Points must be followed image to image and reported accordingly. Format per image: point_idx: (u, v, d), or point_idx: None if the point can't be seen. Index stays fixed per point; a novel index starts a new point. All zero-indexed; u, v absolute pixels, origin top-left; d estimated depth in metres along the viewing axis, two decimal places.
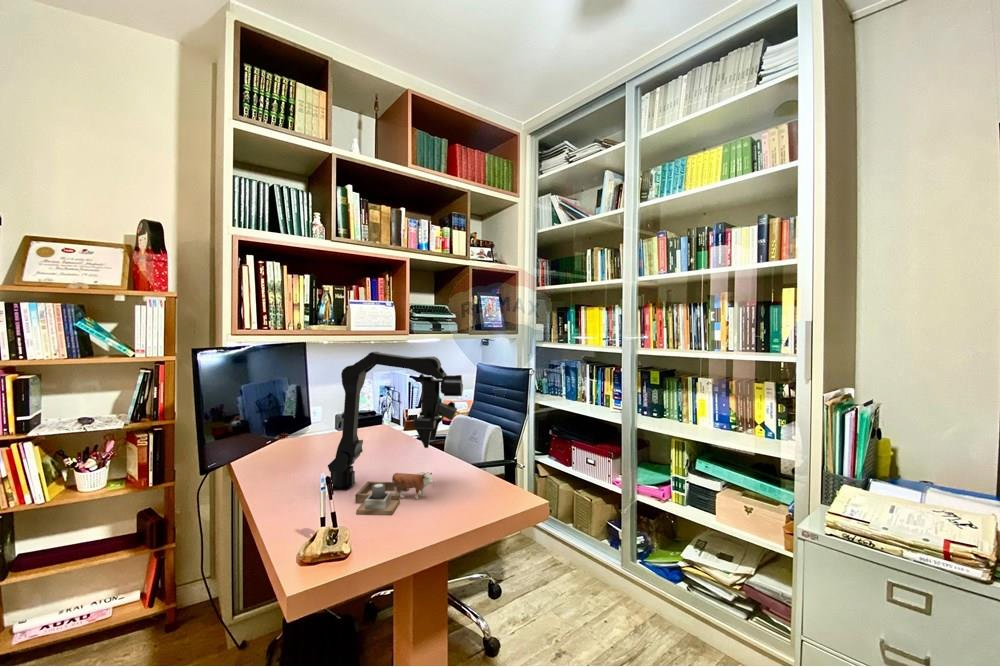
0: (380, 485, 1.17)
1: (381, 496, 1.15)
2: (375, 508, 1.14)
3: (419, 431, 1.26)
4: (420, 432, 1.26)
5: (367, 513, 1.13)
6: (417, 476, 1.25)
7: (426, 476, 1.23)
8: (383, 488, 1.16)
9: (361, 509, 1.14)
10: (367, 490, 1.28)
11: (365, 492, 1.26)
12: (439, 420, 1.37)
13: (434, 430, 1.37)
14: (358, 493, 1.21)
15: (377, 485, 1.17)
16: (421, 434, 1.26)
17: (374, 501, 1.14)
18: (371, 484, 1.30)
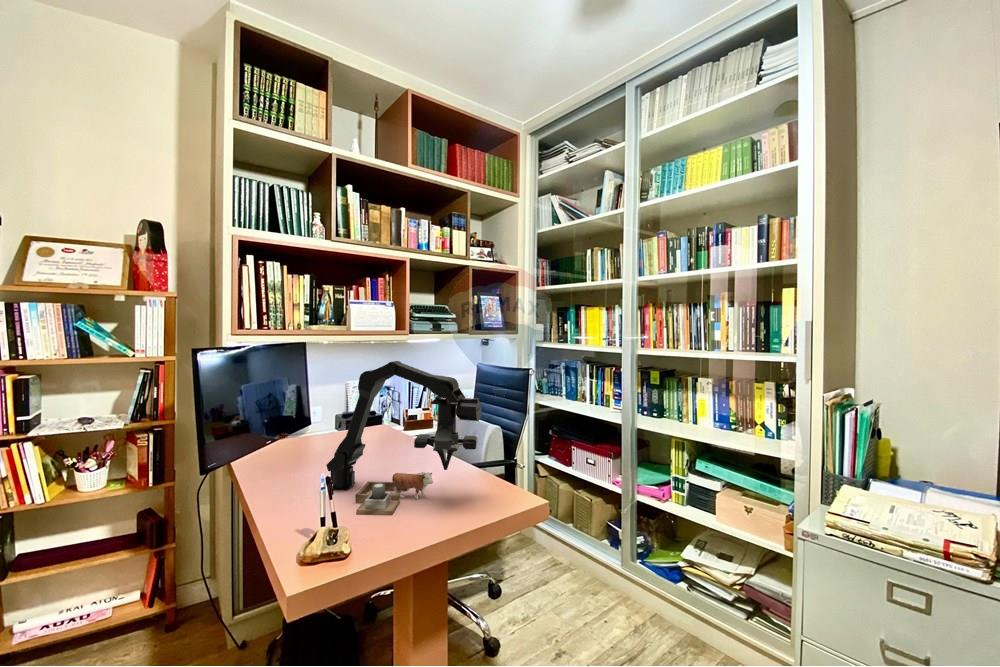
0: (380, 485, 1.17)
1: (381, 496, 1.15)
2: (375, 508, 1.14)
3: None
4: None
5: (367, 513, 1.13)
6: (417, 476, 1.24)
7: (426, 476, 1.23)
8: (383, 488, 1.16)
9: (361, 509, 1.14)
10: (367, 490, 1.28)
11: (365, 492, 1.26)
12: (447, 450, 1.23)
13: None
14: (358, 493, 1.21)
15: (377, 485, 1.17)
16: None
17: (374, 501, 1.14)
18: (371, 484, 1.30)
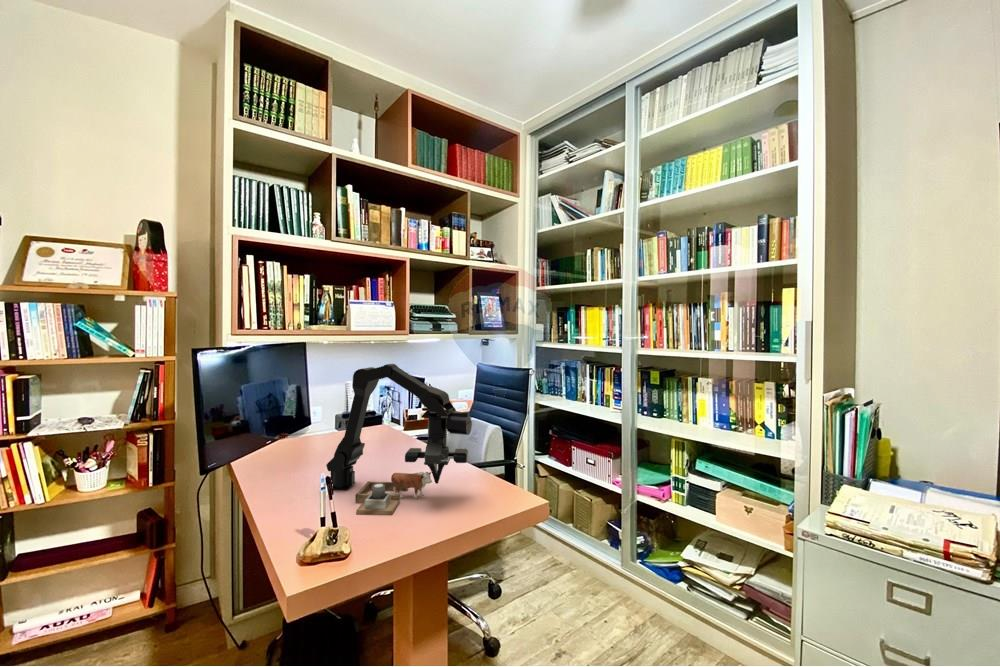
0: (380, 485, 1.17)
1: (381, 496, 1.15)
2: (375, 508, 1.14)
3: None
4: None
5: (367, 513, 1.13)
6: (416, 475, 1.25)
7: (425, 476, 1.23)
8: (383, 488, 1.16)
9: (361, 509, 1.14)
10: (367, 490, 1.28)
11: (365, 492, 1.26)
12: (438, 464, 1.23)
13: (437, 473, 1.25)
14: (358, 493, 1.21)
15: (377, 485, 1.17)
16: None
17: (374, 501, 1.14)
18: (371, 484, 1.30)
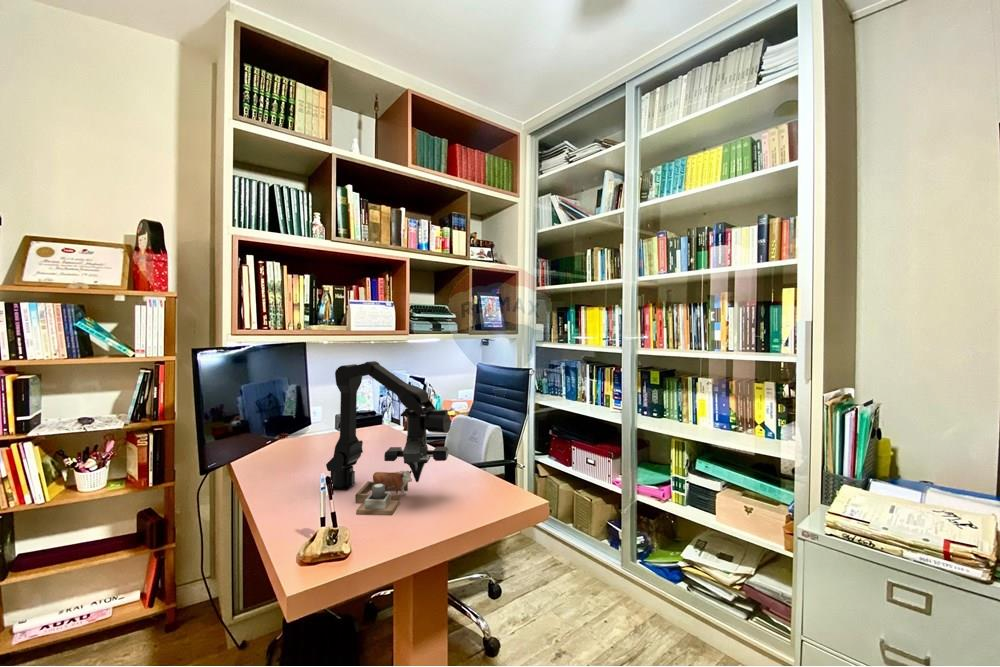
0: (380, 485, 1.17)
1: (381, 496, 1.15)
2: (375, 508, 1.14)
3: None
4: None
5: (367, 513, 1.13)
6: (396, 474, 1.25)
7: (405, 474, 1.23)
8: (383, 488, 1.16)
9: (361, 509, 1.14)
10: (367, 490, 1.28)
11: (365, 492, 1.26)
12: None
13: None
14: (358, 493, 1.21)
15: (377, 485, 1.17)
16: None
17: (374, 501, 1.14)
18: (371, 484, 1.30)
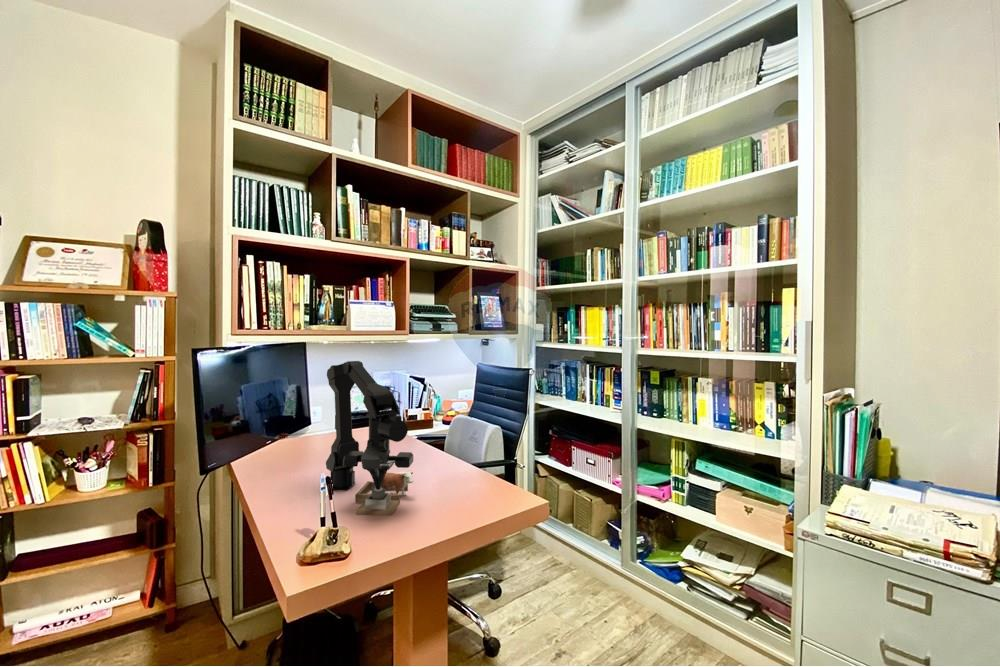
0: (380, 489, 1.17)
1: None
2: (375, 508, 1.14)
3: None
4: None
5: (367, 513, 1.13)
6: (397, 475, 1.25)
7: (406, 475, 1.24)
8: (383, 492, 1.16)
9: (361, 509, 1.14)
10: (367, 490, 1.28)
11: (365, 492, 1.26)
12: None
13: None
14: (358, 493, 1.21)
15: None
16: None
17: (374, 501, 1.14)
18: (371, 484, 1.30)
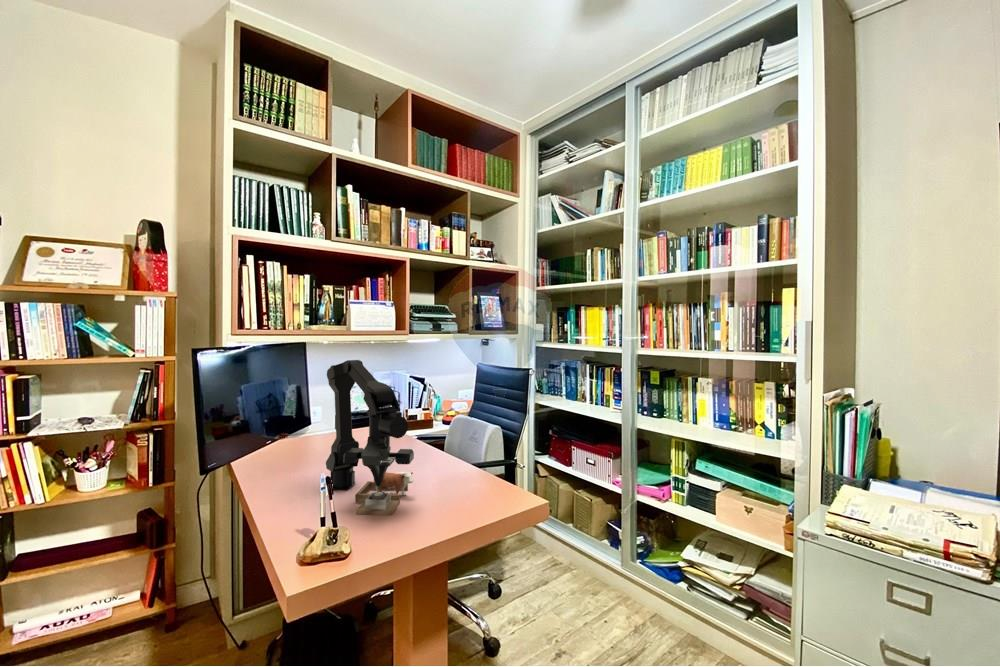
0: (380, 493, 1.17)
1: None
2: (375, 508, 1.14)
3: None
4: None
5: (367, 513, 1.13)
6: (397, 475, 1.25)
7: (406, 475, 1.24)
8: (383, 496, 1.16)
9: (361, 509, 1.14)
10: (367, 490, 1.28)
11: (365, 492, 1.26)
12: None
13: None
14: (358, 493, 1.21)
15: (377, 493, 1.17)
16: None
17: (374, 501, 1.14)
18: (371, 484, 1.30)
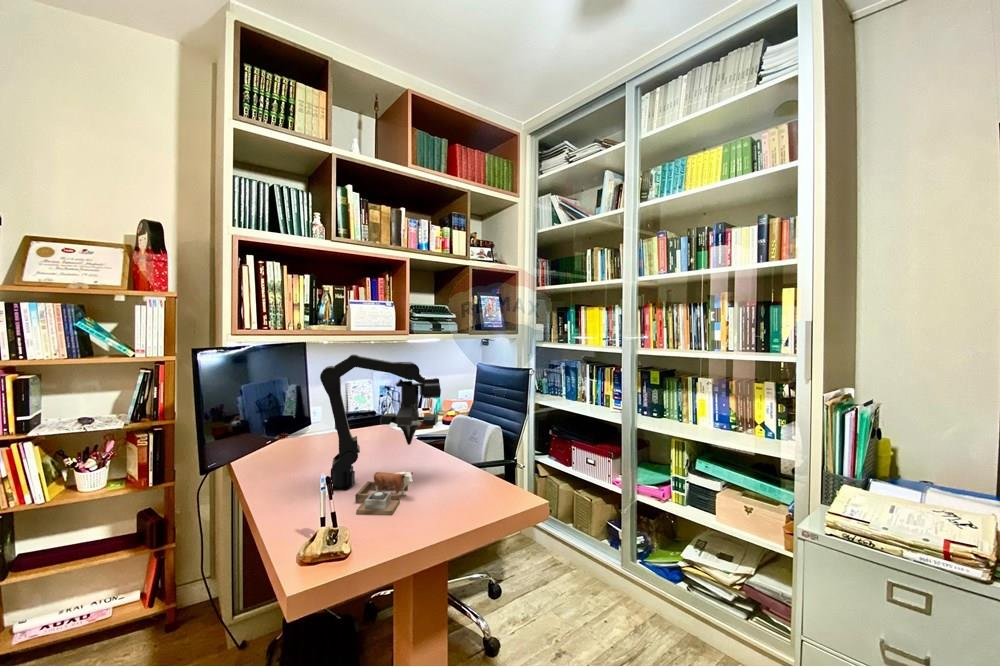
0: (380, 493, 1.17)
1: None
2: (375, 508, 1.14)
3: None
4: None
5: (367, 513, 1.13)
6: (397, 475, 1.25)
7: (406, 475, 1.24)
8: (383, 496, 1.16)
9: (361, 509, 1.14)
10: (367, 490, 1.28)
11: (365, 492, 1.26)
12: None
13: None
14: (358, 493, 1.21)
15: (377, 493, 1.17)
16: None
17: (374, 501, 1.14)
18: (371, 484, 1.30)
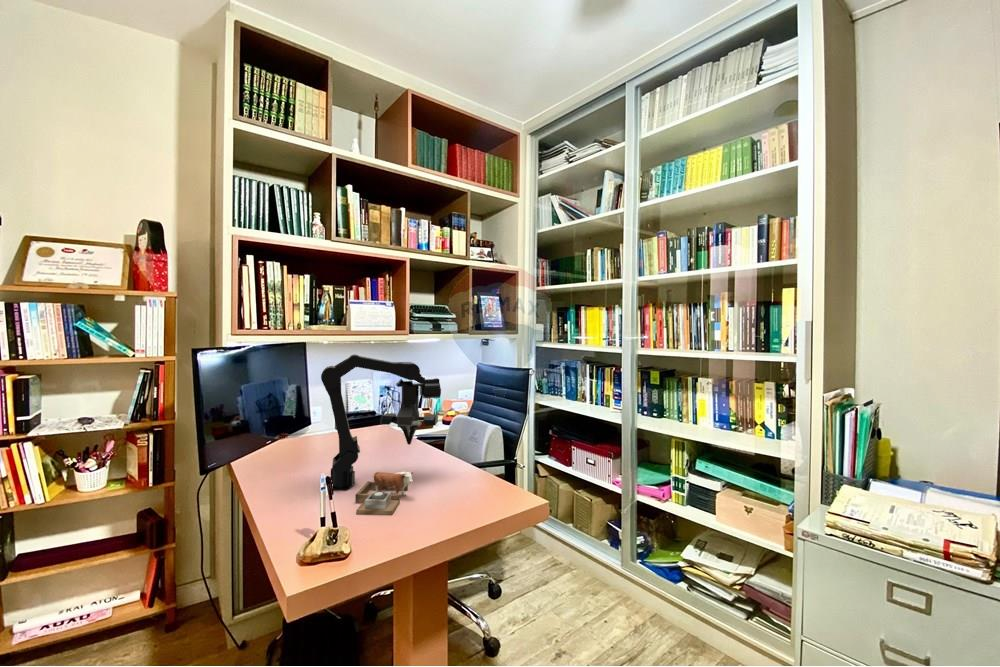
0: (380, 493, 1.17)
1: None
2: (375, 508, 1.14)
3: None
4: None
5: (367, 513, 1.13)
6: (397, 475, 1.25)
7: (406, 475, 1.24)
8: (383, 496, 1.16)
9: (361, 509, 1.14)
10: (367, 490, 1.28)
11: (365, 492, 1.26)
12: None
13: None
14: (358, 493, 1.21)
15: (377, 493, 1.17)
16: None
17: (374, 501, 1.14)
18: (371, 484, 1.30)
